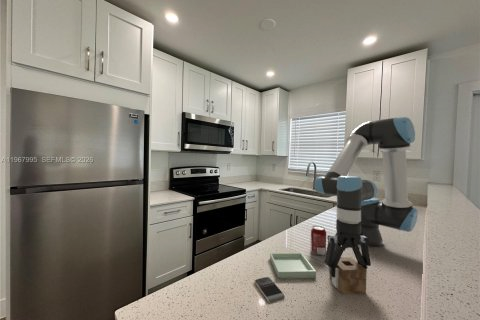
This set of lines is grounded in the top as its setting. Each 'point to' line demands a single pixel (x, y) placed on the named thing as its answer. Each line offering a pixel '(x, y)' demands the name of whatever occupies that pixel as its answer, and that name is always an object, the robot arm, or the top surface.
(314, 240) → the soda can
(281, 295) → the cell phone
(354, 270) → the walnut block
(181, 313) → the top surface
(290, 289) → the top surface
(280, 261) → the tray
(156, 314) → the top surface
